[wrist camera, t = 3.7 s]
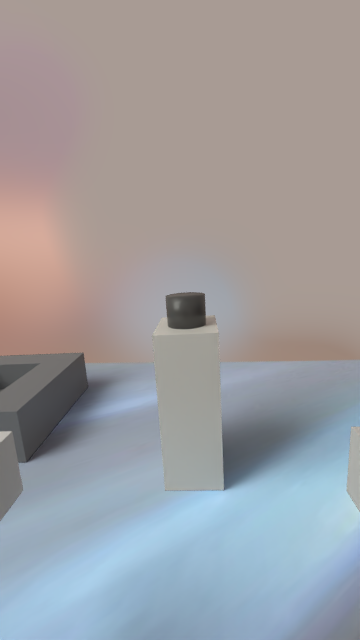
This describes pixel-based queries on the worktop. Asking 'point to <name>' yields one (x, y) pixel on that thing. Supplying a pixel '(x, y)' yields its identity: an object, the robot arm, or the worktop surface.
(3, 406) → the socket
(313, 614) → the worktop surface
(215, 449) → the plug
